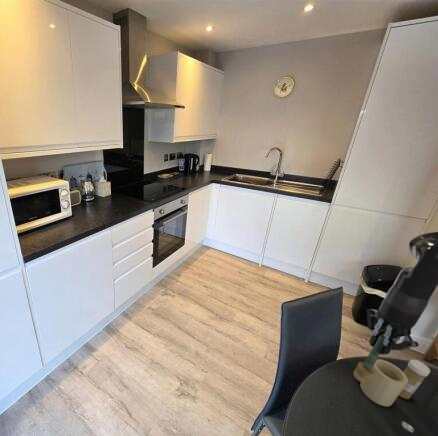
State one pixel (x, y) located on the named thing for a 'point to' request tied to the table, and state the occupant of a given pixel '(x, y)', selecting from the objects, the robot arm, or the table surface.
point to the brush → (368, 363)
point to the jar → (384, 383)
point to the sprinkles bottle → (414, 377)
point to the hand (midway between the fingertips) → (377, 349)
